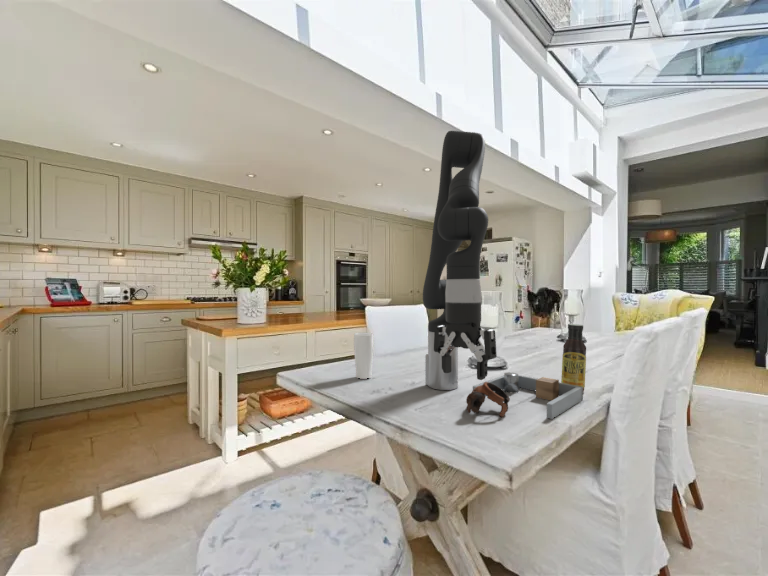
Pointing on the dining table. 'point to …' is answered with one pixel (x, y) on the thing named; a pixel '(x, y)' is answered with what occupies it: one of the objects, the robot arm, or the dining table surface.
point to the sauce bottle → (574, 357)
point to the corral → (566, 399)
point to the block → (547, 388)
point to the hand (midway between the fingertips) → (463, 375)
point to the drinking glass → (363, 354)
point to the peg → (511, 382)
